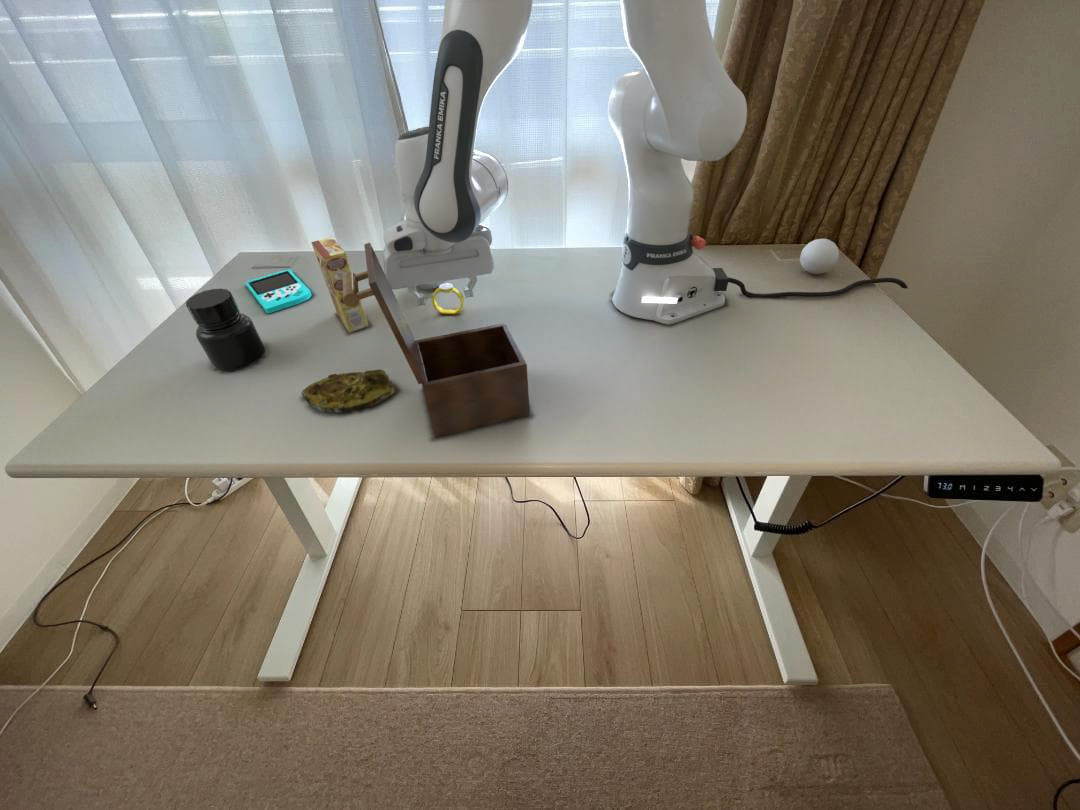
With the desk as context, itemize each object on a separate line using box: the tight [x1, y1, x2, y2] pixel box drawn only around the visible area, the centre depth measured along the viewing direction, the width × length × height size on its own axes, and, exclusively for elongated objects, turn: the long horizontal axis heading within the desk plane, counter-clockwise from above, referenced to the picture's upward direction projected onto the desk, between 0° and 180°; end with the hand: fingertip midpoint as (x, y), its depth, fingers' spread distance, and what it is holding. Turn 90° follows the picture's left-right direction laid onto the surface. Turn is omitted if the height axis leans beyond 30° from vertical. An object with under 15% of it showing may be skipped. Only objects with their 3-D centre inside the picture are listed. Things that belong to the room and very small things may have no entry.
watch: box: [431, 282, 465, 315], centre depth 97 cm, size 6×3×6 cm, turn 90°
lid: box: [343, 242, 424, 385], centre depth 64 cm, size 15×12×5 cm
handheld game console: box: [245, 268, 312, 314], centre depth 107 cm, size 10×16×1 cm, turn 39°
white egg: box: [799, 238, 840, 275], centre depth 106 cm, size 10×7×7 cm
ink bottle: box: [185, 288, 266, 371], centre depth 85 cm, size 10×9×12 cm
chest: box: [415, 322, 531, 438], centre depth 74 cm, size 15×12×10 cm
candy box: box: [311, 236, 369, 333], centre depth 93 cm, size 9×4×15 cm, turn 33°
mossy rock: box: [300, 369, 396, 414], centre depth 79 cm, size 9×5×15 cm
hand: (445, 300), depth 96 cm, fingers open, 8 cm apart
